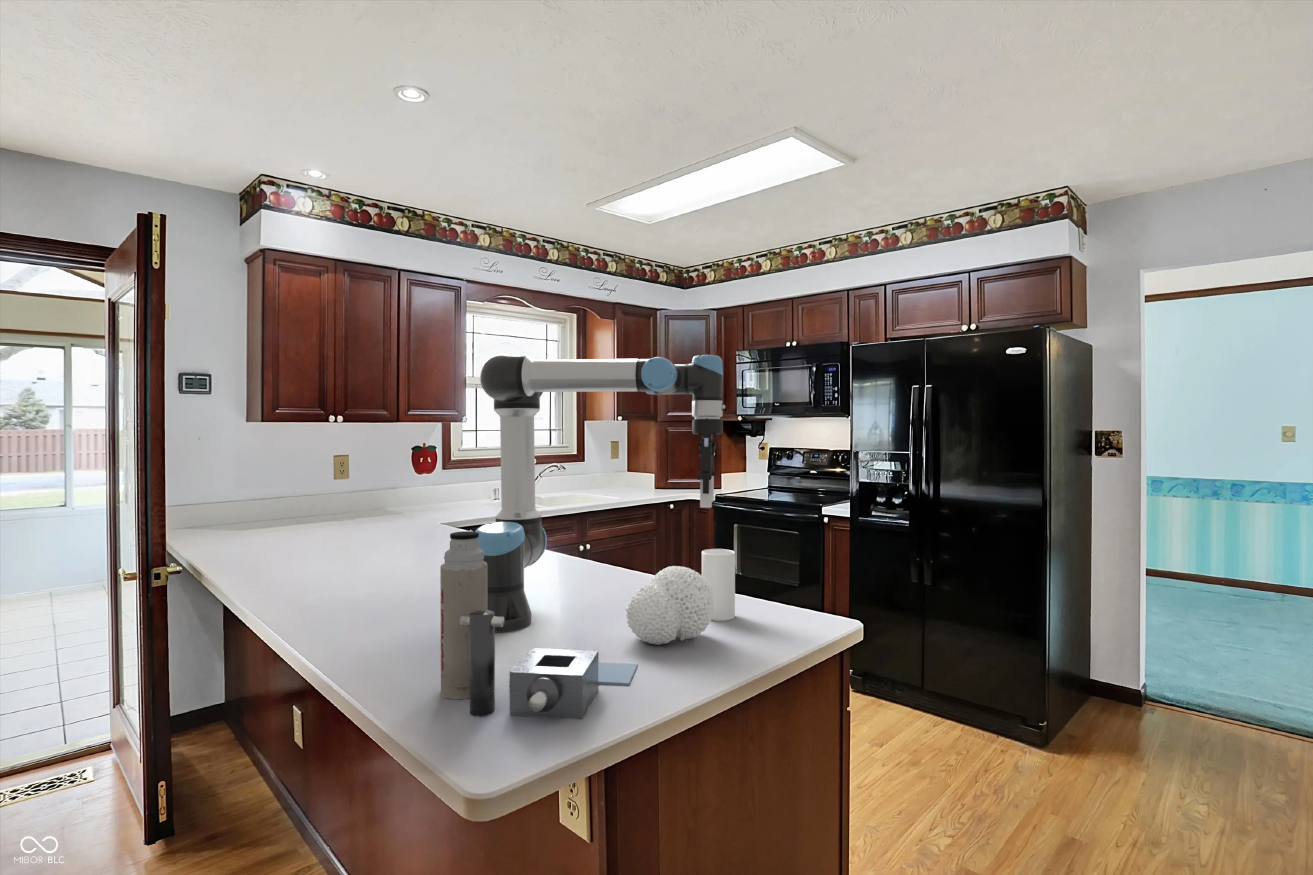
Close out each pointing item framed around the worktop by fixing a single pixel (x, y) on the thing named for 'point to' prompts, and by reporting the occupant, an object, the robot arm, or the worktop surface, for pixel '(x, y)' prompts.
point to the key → (482, 660)
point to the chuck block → (554, 683)
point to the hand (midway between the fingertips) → (707, 504)
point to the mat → (615, 673)
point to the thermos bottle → (460, 609)
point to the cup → (720, 581)
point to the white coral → (671, 606)
